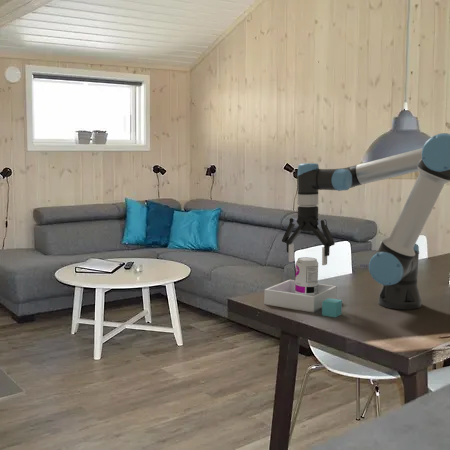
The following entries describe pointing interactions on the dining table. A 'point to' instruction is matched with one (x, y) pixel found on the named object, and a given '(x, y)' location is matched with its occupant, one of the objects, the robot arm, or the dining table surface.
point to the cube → (331, 307)
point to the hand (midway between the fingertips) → (307, 263)
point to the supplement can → (306, 276)
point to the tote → (298, 296)
